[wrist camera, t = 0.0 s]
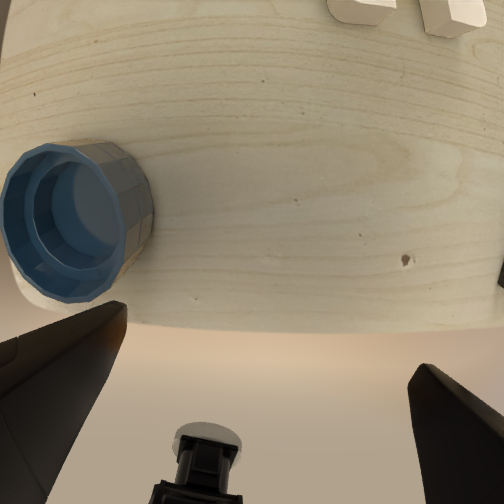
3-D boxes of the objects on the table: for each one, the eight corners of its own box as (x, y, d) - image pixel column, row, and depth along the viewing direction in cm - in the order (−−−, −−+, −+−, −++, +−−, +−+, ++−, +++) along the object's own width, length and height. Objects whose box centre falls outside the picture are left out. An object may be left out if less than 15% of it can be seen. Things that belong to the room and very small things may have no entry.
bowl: (146, 283, 22) (120, 321, 17) (42, 253, 21) (3, 279, 17) (166, 150, 19) (136, 157, 14) (49, 132, 18) (2, 138, 14)
